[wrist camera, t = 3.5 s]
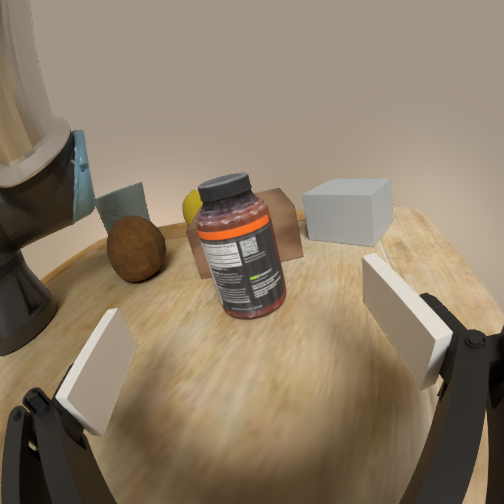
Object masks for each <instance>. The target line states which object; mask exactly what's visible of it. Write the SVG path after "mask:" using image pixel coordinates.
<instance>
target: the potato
mask: <svg viewBox="0 0 504 504" xmlns="http://www.w3.org/2000/svg"><path fill="white" fill-rule="evenodd" d="M107 253H108V257H109V260H110V262H111V264H112V267H113V269H114V270H115V271H116V273H117V274H118V275H119V276H120V277H121V278H123V279H124V280H126V281H131V282H138V281H142V280H144V279H147V278H148V277H150V276H152V275H153V274H154V273H156V272H157V271H158V270H159V268H160V267H161V265H162V263H163V261H164V258H165V253H166V246H165V239H164V237H163V235H162V234H161V232H160V230H159V229H158V228H157V227H156V226H155V225H154V224H153V223H152V222H151V221H149V220H147V219H145V218H143V217H141V216H131V215H128V216H124V217H122V218H121V219H119V220H117V221H115V223H114V225H113V226H112V228H111V229H110V231H109V233H108V239H107Z"/></svg>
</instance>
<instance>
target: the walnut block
mask: <svg viewBox="0 0 504 504" xmlns="http://www.w3.org/2000/svg"><path fill="white" fill-rule="evenodd" d="M254 195H255V196H257V197H260V198H262V199H263V200H264V201H265V202H266V203H267V205H268V208H269V211H270V216H271V220H272V224H273V229H274V234H275V238H276V243H277V248H278V252H279V257H280V262H282V261H286V260H291V259H295V258H300V257H303V251H302V245H301V239H300V233H299V227H298V221H297V216H296V210H295V206H294V204H293V203H292V202H291V201H290V200H289V199H288V198H287V196H286V195H285V194H284V193H283V192H282V191H281V189H280V188H277V189H272V190H268V191H263V192H258V193H254ZM201 208H202V206H201V207H200V208H199V210H198V212H197V213H196V215H195V217H194V218H193V220H192V222H191V223H190V225H189V227H188V228H187V230H186V233H187V237H188V240H189V243H190V246H191V249H192V252H193V255H194V258H195V261H196V264H197V267H198V270H199V273H200V276H201V279H204V278H208V277H212V275H211V272H210V269H209V266H208V263H207V260H206V257H205V253H204V250H203V247H202V245H201V241H200V237H199V234H198V231H197V227H196V218H197V216H198V214H199V213H200V211H201Z"/></svg>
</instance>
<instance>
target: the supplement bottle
mask: <svg viewBox="0 0 504 504" xmlns="http://www.w3.org/2000/svg"><path fill="white" fill-rule="evenodd" d="M251 187H252V186H251V184H250V181H249V176H248V174H247V173H236V174H231V175H226V176H222V177H218V178H215V179H212V180H209V181H206V182H204V183H202V184H200V185H199V186H198V191H199V195H200V200H201V201H202V202H203V204H202V208H201V211H200V213H199V214H198V216H197V218H196V227H197V231H198V234H199V237H200V241H201V245H202V247H203V250H204V253H205V257H206V260H207V263H208V266H209V269H210V272H211V275H212V278H213V281H214V284H215V287H216V290H217V292H218V295H219V298H220V301H221V303H222V305H223V308H224V310H225V311H226V313H228V314H229V315H230V316H232V317H236V318H239V319H254V318H258V317H262V316H265V315H267V314H269V313H271V312H273V311H274V310H276V309H277V308H278V307H279V306H280V305H281V304H282V303H283V301H284V299H285V297H286V287H285V281H284V276H283V271H282V267H281V262H280V257H279V252H278V248H277V243H276V238H275V234H274V229H273V224H272V220H271V216H270V211H269V208H268V205H267V203H266V202H265V201H264V200H263V199H262V198H260V197H257V196H255V195H254V194H253V192H252V191H251Z"/></svg>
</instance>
